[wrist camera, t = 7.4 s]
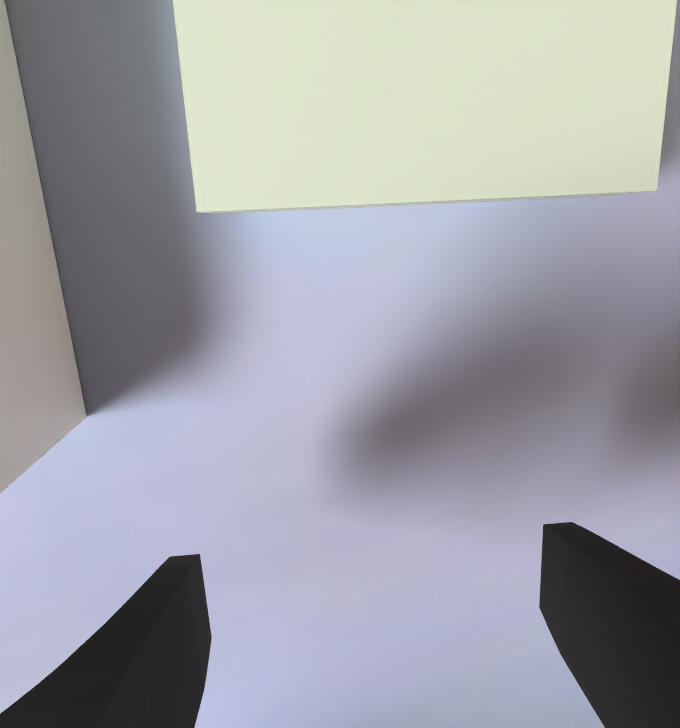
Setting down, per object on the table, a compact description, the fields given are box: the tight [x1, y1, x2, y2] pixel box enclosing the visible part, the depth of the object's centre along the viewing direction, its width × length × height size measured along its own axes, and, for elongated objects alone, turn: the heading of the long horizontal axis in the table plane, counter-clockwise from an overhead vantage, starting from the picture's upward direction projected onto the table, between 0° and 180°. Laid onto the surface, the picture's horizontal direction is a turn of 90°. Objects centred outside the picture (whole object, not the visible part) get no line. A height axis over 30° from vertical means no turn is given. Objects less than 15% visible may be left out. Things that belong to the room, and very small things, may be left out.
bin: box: [0, 0, 87, 493], centre depth 10 cm, size 13×19×4 cm
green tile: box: [173, 0, 677, 214], centre depth 11 cm, size 6×9×3 cm, turn 93°
